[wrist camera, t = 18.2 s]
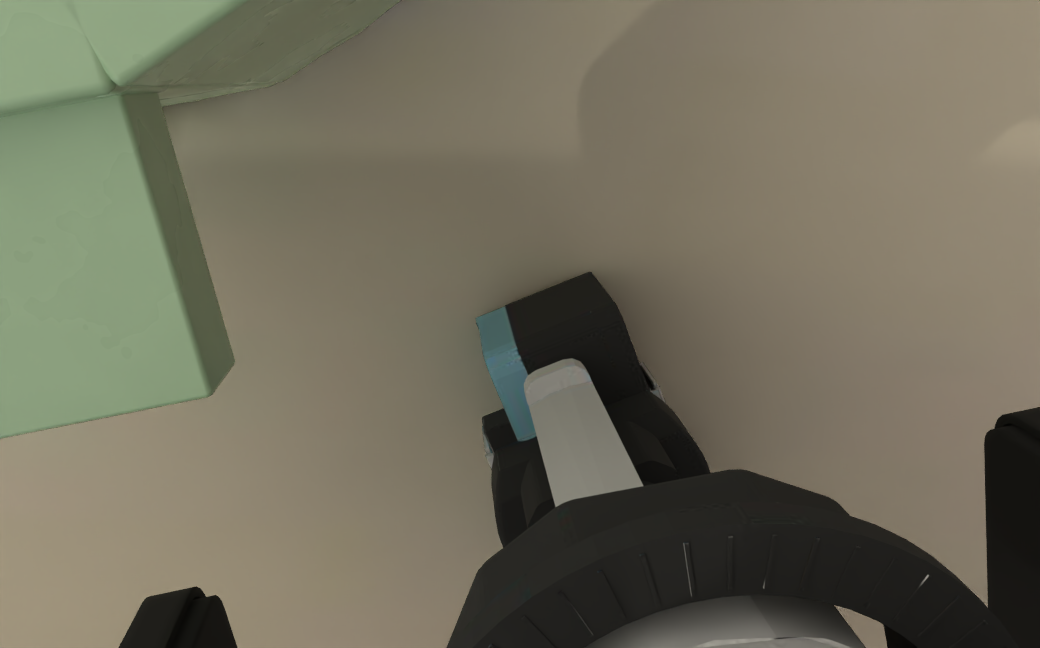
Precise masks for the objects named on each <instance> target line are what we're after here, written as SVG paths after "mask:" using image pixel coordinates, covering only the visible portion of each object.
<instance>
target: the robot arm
mask: <svg viewBox="0 0 1040 648" xmlns="http://www.w3.org/2000/svg"><path fill="white" fill-rule="evenodd" d="M984 453H985V495H986V538H987V580H988V609H989V610H990V611H991V612H992V613H993V614H994V615H995V616H996V617H997V618H998V619H999V620H1000V621H1001V623H1002V624H1003V626H1004V627H1005V628H1006V630H1007V631H1008V633H1009V634H1010V635H1011V637H1012V638H1013V640H1014V641H1015V643H1016V644H1017V645H1018V647H1019V648H1040V407H1037V408H1033V409H1028V410H1023V411H1019V412H1014V413H1009V414H1005V415H1002V416H1001V417H999V418H998V420H997V422H996V424H995V429H991V430H990V431H988V432H987V434H986V436H985V442H984ZM119 648H237V645H236V642H235V639H234V636H233V633H232V630H231V627H230V624H229V621H228V618H227V614H226V611H225V608H224V606H223V603H222V601H221V600H220V598H219V597H218V596H216V595H214V596H209V597H206V596H205V594H204V593H203V591H202V590H201V589H200V588H198V587H192V588H187V589H183V590H178V591H173V592H168V593H164V594H159V595H154V596H150V597H147V598H146V599H145V600H144V601H143V603H142V605H141V606H140V608H139V610H138V612H137V614H136V616H135V618H134V620H133V622H132V623H131V625H130V627H129V629H128V631H127V633H126V635H125V637H124V638H123V640H122V642H121V644H120V646H119Z"/></svg>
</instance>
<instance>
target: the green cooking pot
mask: <svg viewBox="0 0 1040 648" xmlns="http://www.w3.org/2000/svg"><path fill="white" fill-rule="evenodd" d="M400 1H401V0H0V439H2V438H7V437H12V436H17V435H22V434H27V433H32V432H37V431H42V430H47V429H52V428H57V427H62V426H67V425H72V424H77V423H82V422H87V421H92V420H97V419H102V418H107V417H112V416H117V415H122V414H127V413H132V412H137V411H142V410H147V409H152V408H157V407H162V406H167V405H172V404H177V403H182V402H187V401H192V400H197V399H202V398H207V397H210V396H211V395H212V394H213V393H214V392H215V390H216V389H217V387H218V386H219V385H220V383H221V382H222V380H223V379H224V378H225V376H226V375H227V374H228V372H229V371H230V369H231V368H232V367H233V365H234V362H235V359H234V356H233V352H232V349H231V345H230V342H229V339H228V335H227V332H226V328H225V325H224V321H223V318H222V314H221V311H220V307H219V304H218V300H217V297H216V294H215V290H214V287H213V283H212V280H211V276H210V273H209V269H208V266H207V262H206V259H205V255H204V252H203V249H202V245H201V242H200V238H199V235H198V231H197V228H196V224H195V221H194V217H193V214H192V210H191V207H190V204H189V200H188V197H187V193H186V190H185V186H184V183H183V179H182V176H181V172H180V169H179V165H178V162H177V158H176V155H175V152H174V148H173V145H172V141H171V138H170V134H169V131H168V127H167V124H166V120H165V117H164V113H163V110H162V107H163V106H168V105H174V104H179V103H185V102H193V101H198V100H202V99H206V98H211V97H216V96H221V95H227V94H232V93H237V92H243V91H248V90H253V89H259V88H264V87H269V86H273V85H274V84H276V82H283V81H285V80H286V79H288V78H289V77H291V76H292V75H294V74H295V73H297V72H298V71H300V70H301V69H302V68H304V67H305V66H307V65H308V64H310V63H311V62H313V61H314V60H316V59H317V58H318V57H320V56H322V55H323V54H325V53H327V52H328V51H330V50H332V49H334V48H335V47H337V46H339V45H340V44H342V43H344V42H345V41H347V40H349V39H351V38H352V37H354V36H356V35H357V34H359V33H360V32H361V31H363V30H364V29H365V28H366V27H368V26H369V25H370V24H371V23H373V22H374V21H375V20H376V19H378V18H379V17H380V16H382V15H383V14H384V13H385V12H387V11H388V10H389V9H390V8H392V7H393V6H394V5H395V4H397V3H398V2H400Z"/></svg>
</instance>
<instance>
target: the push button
mask: <svg viewBox="0 0 1040 648" xmlns="http://www.w3.org/2000/svg"><path fill="white" fill-rule="evenodd" d="M476 324H477V326H478V329H479V331H480V338H481V344H482V351H483V356H484V360H485V362H486V365H487V368H488V371H489V373H490V376H491V378H492V381H493V383H494V386H495V388H496V390H497V393H498V395H499V397H500V400H501V402H502V404H503V407H504V409H501V410H499V411H496V412H494V413H491V414H489V415H486V416H484V417H483V418H482V423H483V426H482V431H483V440H484V449H485V452H486V455H485V456H486V458H487V461H488V463H489V465H490V468H491V470H492V493H493V501H494V509H495V517H496V523H497V529H498V534H499V537H500V540H501V543H502V545H503V549H501V550H500V551H499V552H497V553H496V554H495V555H494V556H492V557H491V558H490V559H488V560H487V561H486V562H485V563H484V564H483V566H482V567H481V568H480V569H479V570H478V572H477V574H476V576H475V579H474V581H473V584H472V586H471V589H470V591H469V594H468V596H467V598H466V601H465V603H464V606H463V608H462V611H461V613H460V616H459V618H458V621H457V623H456V626H455V628H454V631H453V633H452V636H451V638H450V641H449V643H448V645H447V648H866V647H865V646H864V645H863V643H862V642H861V641H860V639H859V638H858V637H857V635H856V634H855V633H854V631H853V630H852V629H851V627H850V626H849V625H848V623H847V622H846V621H845V619H844V618H843V617H842V615H841V614H840V613H839V611H838V610H837V609H836V607H835V606H834V605H836V606H840V607H844V608H847V609H851V610H853V611H855V612H858V613H860V614H862V615H865V616H867V617H870V618H872V619H874V620H877V621H879V622H880V623H882V624H883V625H884V629H885V635H886V641H887V647H888V648H1019V647H1018V645H1017V644H1016V643H1015V641H1014V640H1013V638H1012V637H1011V635H1010V634H1009V633H1008V631H1007V630H1006V628H1005V627H1004V626H1003V624H1002V623H1001V621H1000V620H999V619H998V618H997V617H996V616H995V615H994V614H993V613H992V612H991V611H990V610H989V609H988V607H987V606H986V605H985V604H984V603H983V602H982V601H981V600H980V599H979V598H978V597H977V596H976V595H975V594H974V593H973V592H972V591H971V590H970V589H969V588H968V587H967V586H966V585H965V584H964V583H963V582H962V581H961V580H959V579H958V578H957V577H956V576H955V575H954V574H953V573H952V572H951V571H949V570H948V569H947V568H946V567H945V566H943V565H942V564H941V563H940V562H938V561H937V560H936V559H935V558H934V557H932V556H931V555H930V554H928V553H926V552H925V551H923V550H922V549H920V548H919V547H917V546H915V545H914V544H912V543H911V542H909V541H908V540H906V539H904V538H902V537H900V536H898V535H896V534H894V533H892V532H890V531H887V530H885V529H883V528H881V527H879V526H877V525H875V524H872V523H869V522H866V521H863V520H860V519H857V518H854V517H851V516H850V515H849V514H848V513H847V512H846V511H845V510H844V509H843V508H842V507H841V506H840V505H839V504H838V503H837V502H836V501H834V500H833V499H831V498H829V497H826V496H823V495H820V494H817V493H814V492H811V491H808V490H805V489H802V488H799V487H796V486H793V485H790V484H787V483H784V482H781V481H778V480H775V479H772V478H768V477H765V476H762V475H759V474H756V473H753V472H750V471H747V470H741V469H739V470H725V471H720V472H715V473H710V470H709V467H708V464H707V462H706V460H705V458H704V456H703V453H702V452H701V450H700V449H699V447H698V446H697V444H696V443H695V441H694V440H693V438H692V437H691V435H690V434H689V433H688V431H687V430H686V428H685V427H684V425H683V424H682V423H681V421H680V420H679V418H678V417H677V415H676V414H675V413H674V412H673V410H672V409H671V408H670V407H669V406H668V405H667V404H666V402H665V400H664V397H663V394H662V391H661V389H660V386H658V385H657V383H656V381H655V379H654V378H653V376H652V375H651V374H650V372H649V371H648V369H647V368H646V366H645V365H644V364H643V362H642V363H639V361H638V358H637V356H636V353H635V350H634V347H633V345H632V342H631V339H630V337H629V334H628V331H627V328H626V326H625V323H624V321H623V318H622V316H621V314H620V311H619V309H618V307H617V305H616V304H615V302H614V301H613V300H612V298H611V297H610V296H609V295H608V293H607V292H606V291H605V289H604V288H603V287H602V285H601V284H600V283H599V282H598V280H597V279H596V278H595V276H594V275H593V274H592V272H588V273H585V274H583V275H580V276H578V277H575V278H573V279H570V280H568V281H566V282H563V283H561V284H558V285H556V286H553V287H550V288H548V289H545V290H543V291H540V292H538V293H535V294H533V295H530V296H528V297H525V298H523V299H520V300H518V301H515V302H513V303H510V304H508V305H505V307H502V308H500V309H497V310H495V311H492V312H490V313H487V314H485V315H482V316H480V317H477V318H476Z"/></svg>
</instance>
